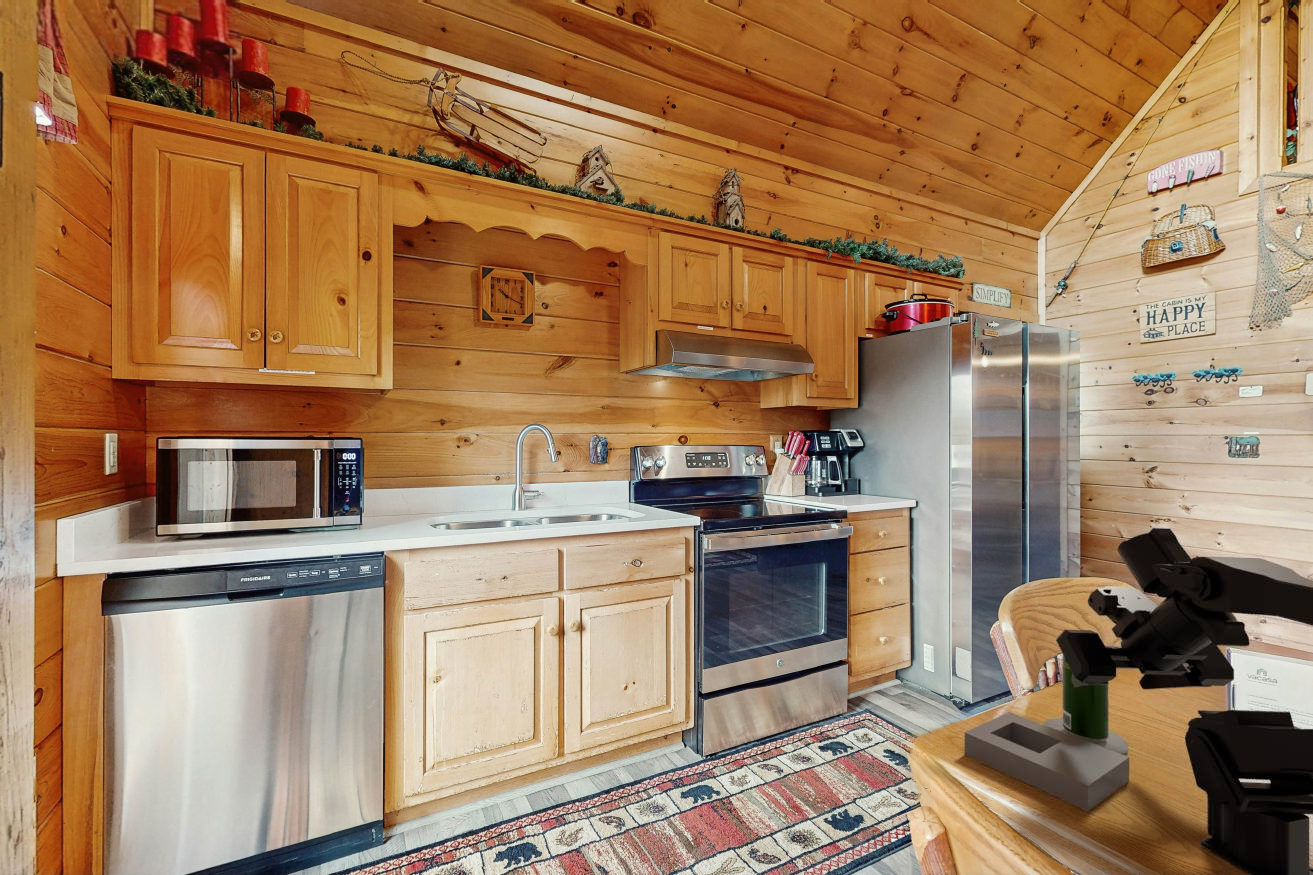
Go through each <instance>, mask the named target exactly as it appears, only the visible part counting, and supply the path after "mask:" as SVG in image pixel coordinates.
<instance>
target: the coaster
mask: <svg viewBox="0 0 1313 875" xmlns="http://www.w3.org/2000/svg"><path fill="white" fill-rule="evenodd" d="M1042 725H1045V726H1048V727H1050V728H1053V729H1056V730H1058V731H1061V732H1064V733H1066V731H1065V729H1064V727H1063V718H1051V719H1050V718H1049V719H1047V720H1045V721H1044V722H1043V724H1042ZM1066 734H1067V733H1066ZM1093 744H1096V745H1098V746H1101V747H1104V748H1106V749H1109V750H1112V751H1114V752H1117V753H1120V754H1122V755H1125V756H1127V755H1128V753H1129V750H1130V749H1129V744H1128V742H1127V740H1126V739H1125V738H1124V737H1122V736H1121V735H1119V734H1117V733H1115V732H1113V731H1112V730H1109V736H1108V738H1107V740H1106V741H1105V742H1104V743H1093Z"/></svg>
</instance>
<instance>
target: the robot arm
mask: <svg viewBox="0 0 1313 875" xmlns="http://www.w3.org/2000/svg"><path fill="white" fill-rule="evenodd" d="M1116 550H1117V554H1118V555H1119V557H1120V558H1121V560H1122V561H1123V562H1124V564H1125V565H1126V567H1127V569H1128V570H1129V572H1130V574H1132V577H1133V579H1134V580H1135V582H1136V583H1137V584H1138V586H1139V587H1140V589H1141V590H1142V591H1141V590H1140V589H1138V588H1135V587H1132V586H1104V587H1097V588H1096V589H1095V590H1094V591H1092V592H1091V593H1090V594H1089V597H1088V599H1087V605H1088V606H1089V607H1090V608H1091V609H1092V610H1093V611H1094V612H1095V613H1096V614H1097V615H1098V616H1100V617H1102V616H1106V617H1107V618H1108V619H1109V620H1110V621H1111V622H1112V623H1113V624H1115V625H1114V626H1113V627H1112V628H1111V630H1112V632H1113V635H1114V636H1115V638H1118V639H1119V638H1120V640H1121V642H1120V647H1106V645H1105V644H1104V642H1103V640H1102V638H1101V636H1100V635H1099V633H1098V632H1095V631H1093V630H1091V629H1089V630H1087V629H1063V631H1062V632H1061V633H1060V634H1059V635H1058V636H1057V637H1056V640H1055V641H1056V643H1057V645H1058V648H1059V649H1060V651H1061V653H1062V656H1063V655H1064V657H1065V659H1066V661H1067V663H1068V665H1069V667H1070V669H1071V671H1072V679H1071V680H1072V683H1073V685H1074V687H1075V688H1080V687H1089V686H1097V685H1105V684H1109V683H1108V681H1109V682H1110V681H1112V680H1114V679H1116V677H1117V669H1118V670H1139V671H1140V673H1141V675H1143V676H1142V677H1141V678H1140V680H1139V681H1138V683H1139V685H1140V687H1141V689H1142V690H1144V691H1145V690H1164V689H1186V688H1187V689H1188V688H1190V689H1191V688H1210V687H1212V686H1213V687H1215V686H1216V687H1224V686H1226V685H1228V684H1230V683H1231V682H1232V681H1234V680H1235V669H1234V667H1233V666H1232V665H1231V663H1230V662H1229V660H1228V659H1227V658H1226V656H1225V655H1224V653H1223V652H1222V650H1221V649H1220V648H1219V647H1218V646H1223V647H1224V646H1225V647H1249V646H1250V644H1251V643H1250V636H1249V634H1247V632H1246V628H1245V627H1246V624H1245V623H1244V621H1239V620H1238V619H1237V617H1236V616H1235V614H1243V615H1244V614H1245V615H1258V616H1269V617H1278V618H1283V619H1286V620H1290V621H1294V622H1298V623H1301V624H1305V625H1308V626H1311V627H1313V579H1309V578H1307V577H1303V576H1302V575H1300V574H1299V573H1297V572H1296V571H1295V570H1293V569H1292V568H1289V567H1287V566H1283V565H1281V564H1278V563H1276V562H1273V561H1270V560H1266V559H1264V558H1260V557H1229V556H1228V557H1227V556H1226V557H1225V556H1196V557H1192V558H1191V557H1190V555H1189V554H1188V552H1187V551H1186V550H1185V548H1184V547H1183V546H1182V545H1181V543H1180V542H1179V540H1178V538H1177V536H1176V534H1175V533H1174V532H1173V530H1172V529H1171V528H1169V527H1168V528H1166V527H1163V528H1162V527H1152V529H1150V531H1149V532H1144V533H1142V534H1138V535H1135V536H1133V537H1131V538H1129V539H1127V540H1123V541H1122V542H1121V543H1120V544H1119V545H1118V547H1117V549H1116ZM1146 594H1152V595H1156V596H1158V597H1159V598H1165V599H1163V600H1162V601H1161V602H1160V603H1158V605H1157V604H1156V603H1155V602H1154V601H1153V600H1152V599H1151V598H1149V597H1148V596H1147V595H1146ZM1197 714H1198V715H1199V716H1200V717H1199V716H1198V717H1193V718H1191V719H1190V720H1189V721H1187V725H1188V729H1187V731H1186V733H1185V735H1184V737H1185V738H1184V740H1185V746H1186V747H1185V748H1186V750H1187V755H1188V758H1189V761H1190V766H1191V769H1192V773H1193V776H1194V779H1195V783H1196V786H1197V788H1199V789H1201V790H1202V791H1204V792H1205V794H1206V795H1207V796H1206V798H1207V799H1206V801H1207V804H1206V805H1207V808H1206V809H1207V816H1206V818H1207V819H1206V821H1207V822H1206V823H1207V824H1206V825H1207V827H1206V828H1207V835H1208V836H1209V837H1207V838H1202V839H1200V843H1201V844H1200V845H1201V846H1202V847H1203V848H1205V849H1206V850H1208V851H1209V852H1212V853H1214V854H1215V855H1217V856H1219V857H1220V858H1222V859H1224V860H1225V861H1228V862H1229V863H1231V864H1233V865H1234V866H1236V867H1238V868H1240V869H1242V871H1245V872H1246V873H1247V874H1250V875H1313V867H1312V866H1310V816H1308V815H1312V816H1313V728H1300V727H1298V726H1295V725H1294V722H1293V718H1292V717H1293V716H1292V714H1291V712H1290V711H1276V710H1275V711H1274V710H1252V709H1251V710H1248V709H1247V710H1246V709H1244V710H1242V709H1229V710H1227V709H1226V710H1204V709H1203V710H1199V709H1198V710H1197ZM1241 780H1256V781H1257V780H1258V781H1261V780H1263V781H1269V782H1255V781H1254V782H1251V781H1250V782H1249V781H1241Z"/></svg>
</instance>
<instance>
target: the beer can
mask: <svg viewBox="0 0 1313 875" xmlns="http://www.w3.org/2000/svg"><path fill="white" fill-rule="evenodd" d="M1071 679H1072V671H1071V669H1070V667H1069V665H1068V663H1067V661H1066V659H1065V657H1064V655H1063V654H1062V719H1063V727H1064V729H1065V731H1066V733H1067V734H1069V735H1072V736H1074V737H1077V738H1080V739H1082V740H1085V741H1088V742H1090V743H1104V742H1105V741H1106V740H1107V738H1108V736H1109V731H1110V729H1109V728H1110V727H1109V726H1110V725H1109V724H1110V723H1109V722H1110V721H1109V720H1110V719H1109V716H1110V714H1109V710H1110V709H1109V707H1110V705H1109V703H1110V701H1109V692H1110V691H1109V684H1105V685H1097V686H1089V687H1080V688H1075V687H1074V685H1073V683H1072V680H1071ZM1109 682H1110V681H1108V683H1109Z"/></svg>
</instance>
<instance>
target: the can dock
mask: <svg viewBox="0 0 1313 875" xmlns="http://www.w3.org/2000/svg"><path fill="white" fill-rule="evenodd" d="M964 755H965V756H967V757H968V758H972V760H975V761H978V762H980V763H982V764H983V765H986V766H989V767H991V768H993V769H995V770H996V771H999V772H1001V773H1004V774H1006V775H1007V776H1010V777H1012V778H1015V779H1017V780H1018V781H1021V782H1023V783H1026V784H1027V785H1030V786H1032V787H1034V788H1036V789H1038V790H1040V791H1043V792H1044V793H1047V794H1049V795H1052V796H1053V797H1056V798H1058V799H1059V800H1062V801H1064V802H1066V803H1068V804H1071V805H1072V806H1075V807H1076V808H1079V809H1082V810H1083V811H1086V812H1089V811H1091V810H1092V809H1094V808H1095V807H1096V806H1098V805H1099V804H1100V803H1102V802H1103V801H1105V800H1106V799H1107V798H1108V797H1109V796H1112V794H1113V793H1115V792H1117V791H1118V790H1119V789H1120V788H1122V787H1123V786H1125V785H1126V784H1127V783H1128V782H1130V756H1127V755H1122V754H1120V753H1117V752H1114V751H1112V750H1109V749H1106V748H1104V747H1101V746H1098V745H1096V744H1093V743H1090V742H1088V741H1085V740H1082V739H1080V738H1077V737H1074V736H1072V735H1069V734H1066V733H1064V732H1061V731H1058V730H1056V729H1053V728H1050V727H1048V726H1045V725H1043V724H1042V723H1039V722H1037V721H1034V720H1032V719H1029V718H1026V717H1023V716H1021V715H1018V714H1016V713H1012V712H1010V711H1009V712H1006V713H1003V714H1001V715H999V716H998V717H995V718H994V719H991V720H989V721H987V722H984V723H982V724H980V725H978V726H976V727H974V728H971V729H969V730H967V731H965V732H964Z"/></svg>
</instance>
